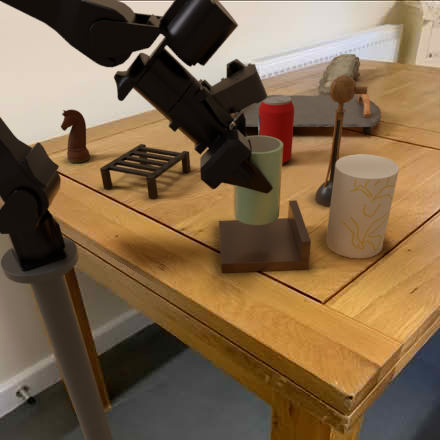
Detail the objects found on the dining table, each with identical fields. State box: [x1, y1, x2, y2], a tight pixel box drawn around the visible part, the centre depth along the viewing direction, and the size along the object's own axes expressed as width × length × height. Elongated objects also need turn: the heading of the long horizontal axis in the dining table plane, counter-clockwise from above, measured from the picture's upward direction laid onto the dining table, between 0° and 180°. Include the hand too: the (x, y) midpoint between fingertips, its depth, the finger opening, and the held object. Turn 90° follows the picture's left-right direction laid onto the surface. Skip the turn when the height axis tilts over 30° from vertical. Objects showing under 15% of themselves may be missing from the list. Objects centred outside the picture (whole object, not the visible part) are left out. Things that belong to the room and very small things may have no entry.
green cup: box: [232, 135, 283, 225], centre depth 62 cm, size 6×6×10 cm
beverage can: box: [257, 94, 294, 165], centre depth 91 cm, size 7×7×12 cm
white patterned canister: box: [325, 153, 400, 259], centre depth 66 cm, size 8×8×12 cm
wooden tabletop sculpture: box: [314, 75, 368, 208], centre depth 74 cm, size 6×5×20 cm
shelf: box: [218, 199, 312, 274], centre depth 68 cm, size 12×12×4 cm
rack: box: [99, 143, 191, 200], centre depth 88 cm, size 13×11×4 cm
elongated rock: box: [317, 53, 361, 95], centre depth 135 cm, size 35×5×10 cm
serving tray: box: [232, 92, 382, 136], centre depth 112 cm, size 39×23×6 cm, turn 84°
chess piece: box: [60, 108, 91, 164], centre depth 96 cm, size 5×5×10 cm
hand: (267, 179), depth 62 cm, fingers closed on green cup, 6 cm apart
